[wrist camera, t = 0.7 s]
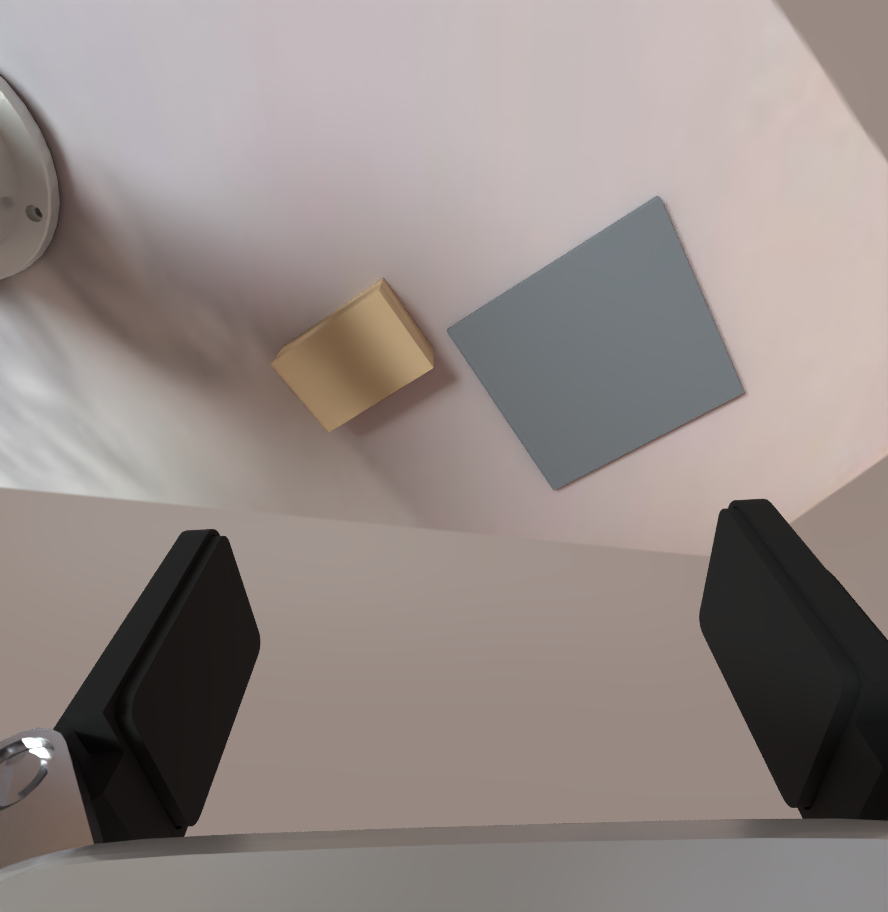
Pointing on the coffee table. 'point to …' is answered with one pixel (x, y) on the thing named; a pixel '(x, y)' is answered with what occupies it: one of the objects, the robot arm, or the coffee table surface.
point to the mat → (601, 348)
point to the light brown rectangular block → (355, 357)
